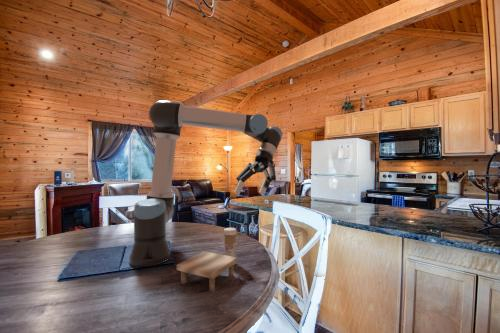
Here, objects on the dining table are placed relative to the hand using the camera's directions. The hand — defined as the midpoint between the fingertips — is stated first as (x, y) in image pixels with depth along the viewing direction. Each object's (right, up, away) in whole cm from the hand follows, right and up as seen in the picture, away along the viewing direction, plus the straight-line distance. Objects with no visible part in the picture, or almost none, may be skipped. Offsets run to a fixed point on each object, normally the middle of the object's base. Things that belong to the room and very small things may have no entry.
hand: (248, 194), depth 102 cm
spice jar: (-7, -26, -8) cm, 28 cm away
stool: (-13, -26, -20) cm, 35 cm away
